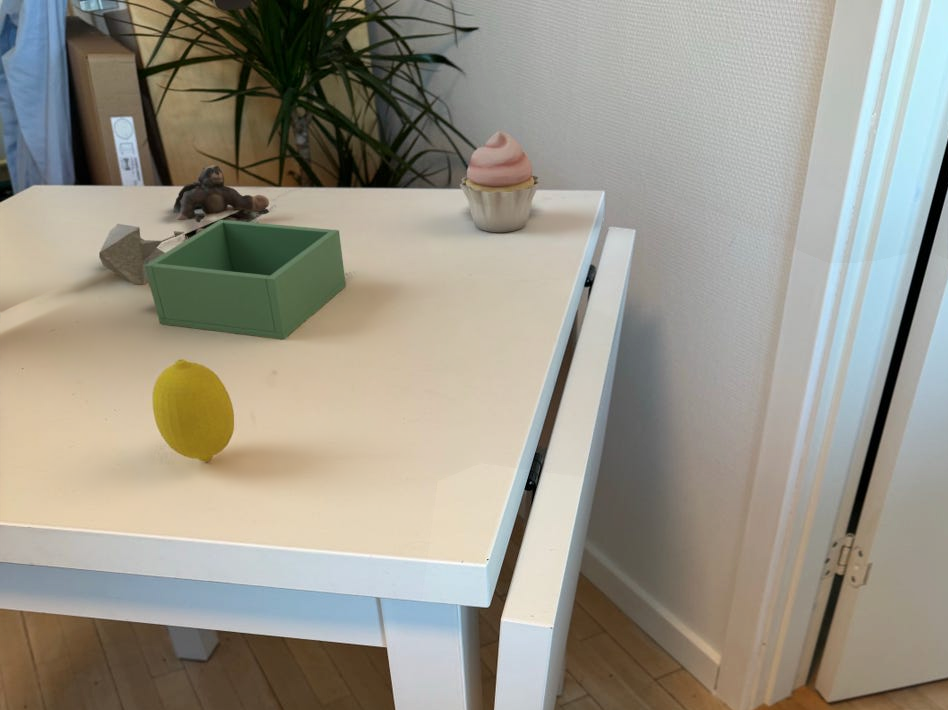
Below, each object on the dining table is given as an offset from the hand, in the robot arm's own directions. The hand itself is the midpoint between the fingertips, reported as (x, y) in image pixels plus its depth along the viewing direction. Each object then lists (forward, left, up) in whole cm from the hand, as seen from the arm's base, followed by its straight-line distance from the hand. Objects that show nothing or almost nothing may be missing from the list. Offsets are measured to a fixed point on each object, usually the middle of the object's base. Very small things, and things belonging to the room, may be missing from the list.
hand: (218, 1), depth 59 cm
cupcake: (-5, +45, -27) cm, 53 cm away
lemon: (+2, -12, -27) cm, 30 cm away
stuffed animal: (-36, +31, -27) cm, 55 cm away
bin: (-15, +13, -27) cm, 34 cm away
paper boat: (-30, +13, -27) cm, 43 cm away
